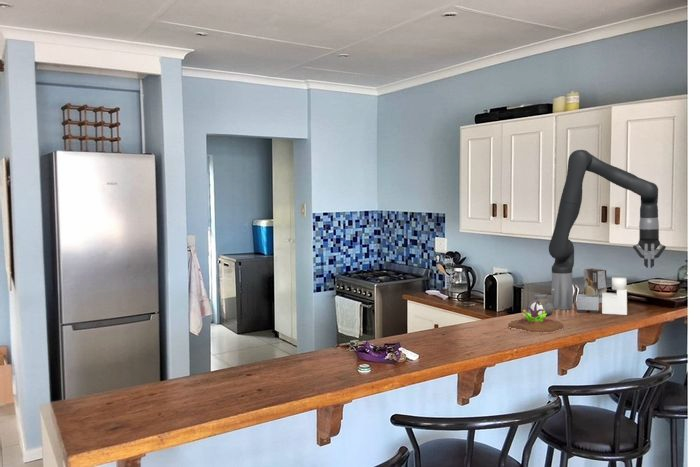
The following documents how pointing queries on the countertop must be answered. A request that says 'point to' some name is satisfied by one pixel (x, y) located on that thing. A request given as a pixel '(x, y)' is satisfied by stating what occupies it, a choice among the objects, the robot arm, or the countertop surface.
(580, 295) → the duct stub
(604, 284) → the coffee box
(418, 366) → the countertop surface
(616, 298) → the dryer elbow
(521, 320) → the plant
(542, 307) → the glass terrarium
